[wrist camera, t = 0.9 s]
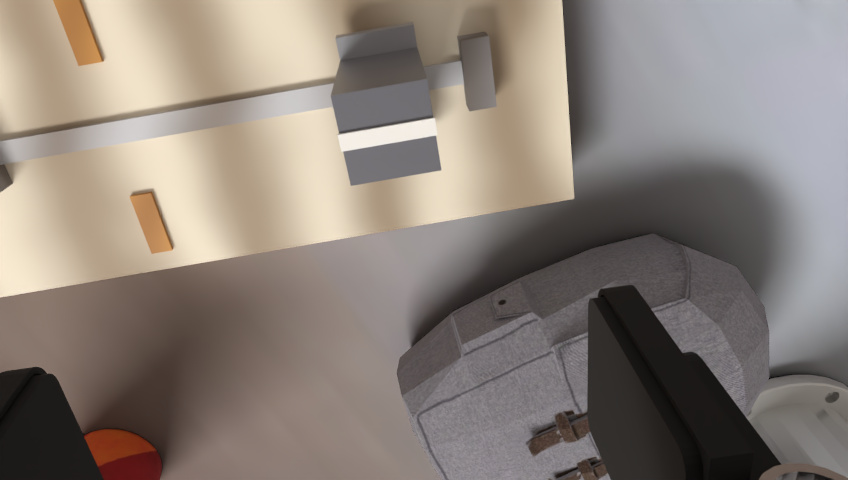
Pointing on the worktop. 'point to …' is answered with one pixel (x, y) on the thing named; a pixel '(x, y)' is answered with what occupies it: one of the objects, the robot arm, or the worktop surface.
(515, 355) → the small grey backpack
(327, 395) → the worktop surface
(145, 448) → the paper cup
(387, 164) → the fader
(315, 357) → the worktop surface
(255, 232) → the console
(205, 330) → the worktop surface
